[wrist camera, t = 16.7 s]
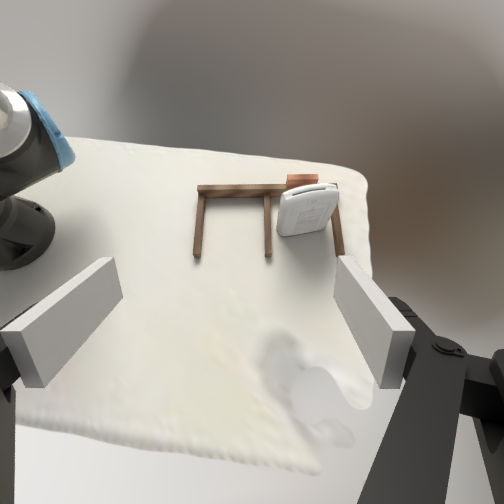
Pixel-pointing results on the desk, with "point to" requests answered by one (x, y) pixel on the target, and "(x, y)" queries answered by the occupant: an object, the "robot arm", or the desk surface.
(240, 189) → the wooden stand frame
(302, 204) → the photo printer
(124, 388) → the desk surface
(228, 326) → the desk surface
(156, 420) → the desk surface
